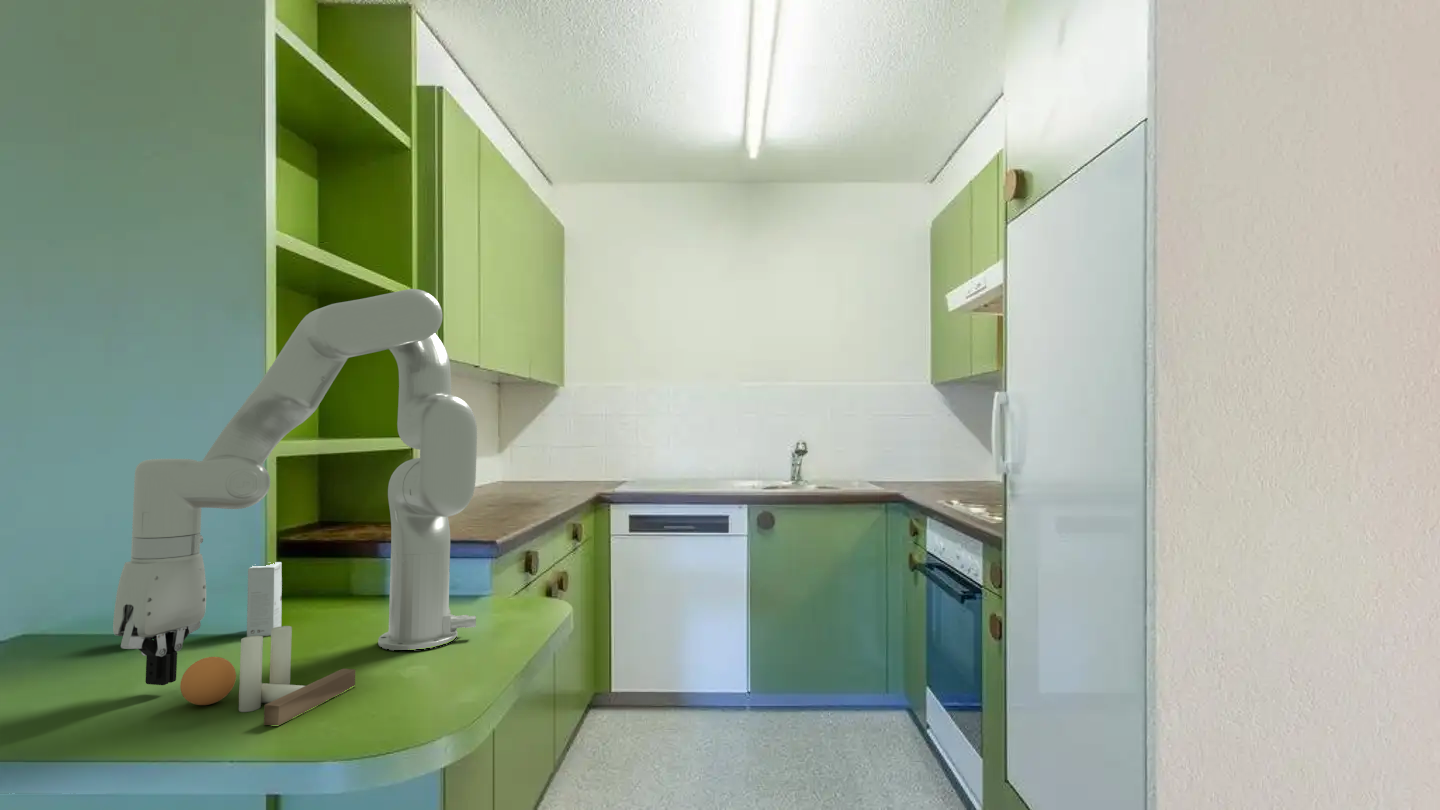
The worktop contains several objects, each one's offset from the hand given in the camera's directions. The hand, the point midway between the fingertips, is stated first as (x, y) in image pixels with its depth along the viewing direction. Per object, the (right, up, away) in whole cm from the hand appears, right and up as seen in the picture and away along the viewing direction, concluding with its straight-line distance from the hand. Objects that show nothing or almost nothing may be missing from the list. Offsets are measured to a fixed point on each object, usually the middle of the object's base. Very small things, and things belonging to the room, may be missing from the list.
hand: (160, 682), depth 98 cm
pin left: (+16, -1, -5) cm, 16 cm away
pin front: (+13, 0, -2) cm, 13 cm away
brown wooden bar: (+23, -2, -4) cm, 23 cm away
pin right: (+16, -2, 0) cm, 17 cm away
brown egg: (+9, +2, -3) cm, 10 cm away
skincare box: (-5, -3, +31) cm, 31 cm away
